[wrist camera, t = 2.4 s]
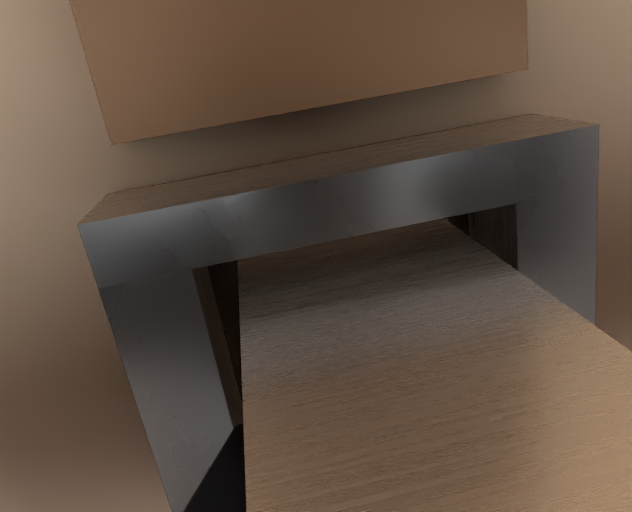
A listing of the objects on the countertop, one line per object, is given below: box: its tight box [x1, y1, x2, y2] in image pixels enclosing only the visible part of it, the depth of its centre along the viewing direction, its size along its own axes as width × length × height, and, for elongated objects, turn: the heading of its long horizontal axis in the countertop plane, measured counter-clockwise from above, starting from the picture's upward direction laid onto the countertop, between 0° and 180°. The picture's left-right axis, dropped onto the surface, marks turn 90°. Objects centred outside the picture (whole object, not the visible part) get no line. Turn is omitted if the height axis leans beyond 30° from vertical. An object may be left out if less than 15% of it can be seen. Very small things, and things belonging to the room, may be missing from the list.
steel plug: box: [238, 218, 632, 512], centre depth 7 cm, size 4×4×9 cm
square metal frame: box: [77, 114, 599, 512], centre depth 10 cm, size 7×8×2 cm
